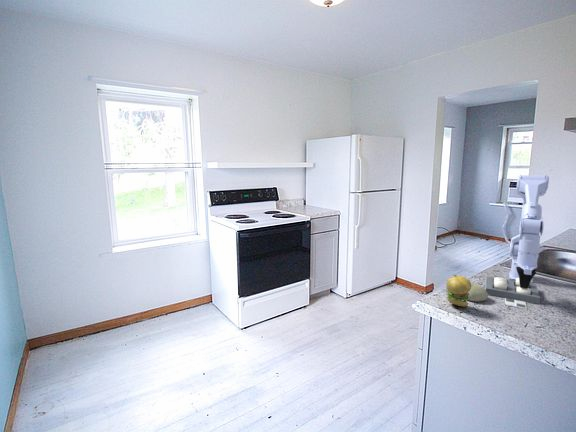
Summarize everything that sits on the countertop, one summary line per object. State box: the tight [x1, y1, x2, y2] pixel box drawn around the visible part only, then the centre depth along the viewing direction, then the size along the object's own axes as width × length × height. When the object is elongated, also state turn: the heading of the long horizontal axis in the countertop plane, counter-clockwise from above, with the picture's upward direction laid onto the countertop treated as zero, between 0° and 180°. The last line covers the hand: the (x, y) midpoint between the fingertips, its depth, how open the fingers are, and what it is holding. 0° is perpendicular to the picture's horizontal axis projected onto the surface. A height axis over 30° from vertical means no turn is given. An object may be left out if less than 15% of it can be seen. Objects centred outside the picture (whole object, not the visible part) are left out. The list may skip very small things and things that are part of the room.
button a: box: [494, 276, 508, 282], centre depth 124 cm, size 4×4×3 cm
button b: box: [494, 280, 508, 291], centre depth 118 cm, size 4×4×3 cm
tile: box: [504, 298, 528, 310], centre depth 110 cm, size 6×6×1 cm
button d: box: [516, 286, 531, 295], centre depth 115 cm, size 4×4×3 cm
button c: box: [515, 278, 529, 288], centre depth 120 cm, size 4×4×3 cm
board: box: [485, 276, 541, 305], centre depth 120 cm, size 15×16×2 cm
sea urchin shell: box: [467, 283, 489, 303], centre depth 115 cm, size 9×8×8 cm
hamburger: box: [446, 274, 472, 308], centre depth 107 cm, size 8×7×12 cm
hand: (523, 287), depth 114 cm, fingers closed
